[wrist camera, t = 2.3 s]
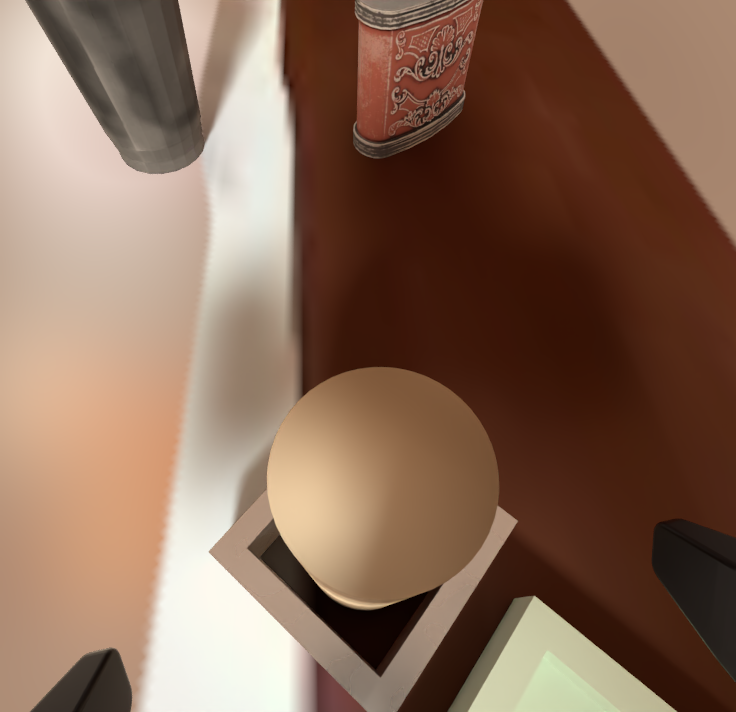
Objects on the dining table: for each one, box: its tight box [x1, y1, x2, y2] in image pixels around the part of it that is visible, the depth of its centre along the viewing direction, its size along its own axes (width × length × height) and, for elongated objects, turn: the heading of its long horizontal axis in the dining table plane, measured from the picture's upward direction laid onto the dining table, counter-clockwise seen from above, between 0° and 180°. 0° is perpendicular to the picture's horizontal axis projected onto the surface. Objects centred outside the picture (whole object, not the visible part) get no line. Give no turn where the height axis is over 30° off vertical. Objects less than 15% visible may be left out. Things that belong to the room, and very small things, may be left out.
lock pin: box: [267, 367, 499, 611], centre depth 13 cm, size 4×4×10 cm
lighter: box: [353, 0, 483, 158], centre depth 24 cm, size 8×3×10 cm, turn 133°
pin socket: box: [209, 489, 518, 712], centre depth 16 cm, size 7×7×2 cm
